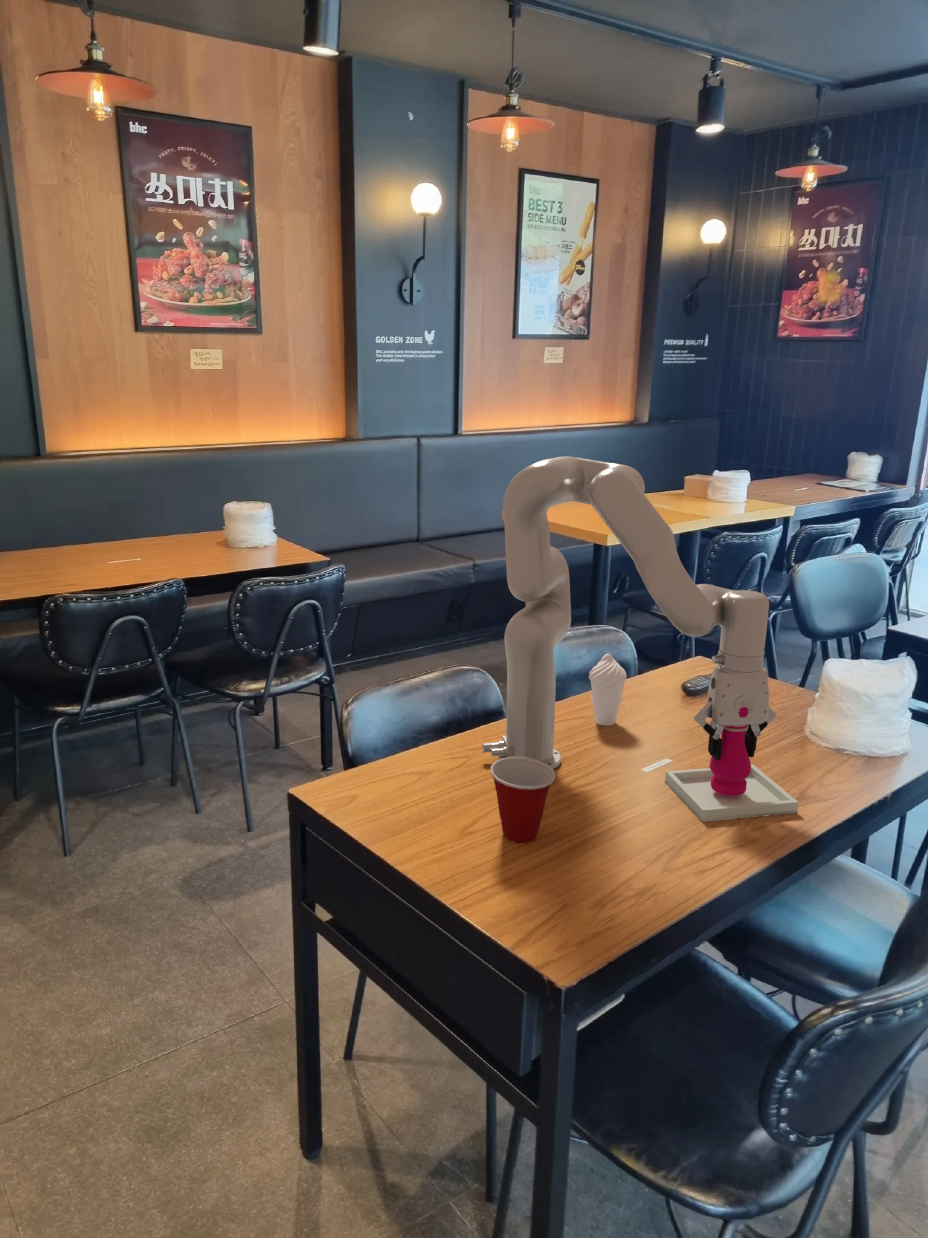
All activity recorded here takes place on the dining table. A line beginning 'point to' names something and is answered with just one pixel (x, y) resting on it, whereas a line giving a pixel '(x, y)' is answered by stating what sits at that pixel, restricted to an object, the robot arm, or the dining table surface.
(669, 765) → the dining table surface
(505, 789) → the plastic cup
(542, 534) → the robot arm
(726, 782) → the pepper mill
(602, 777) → the dining table surface
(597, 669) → the soft serve ice cream cone
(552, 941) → the dining table surface
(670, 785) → the tray
